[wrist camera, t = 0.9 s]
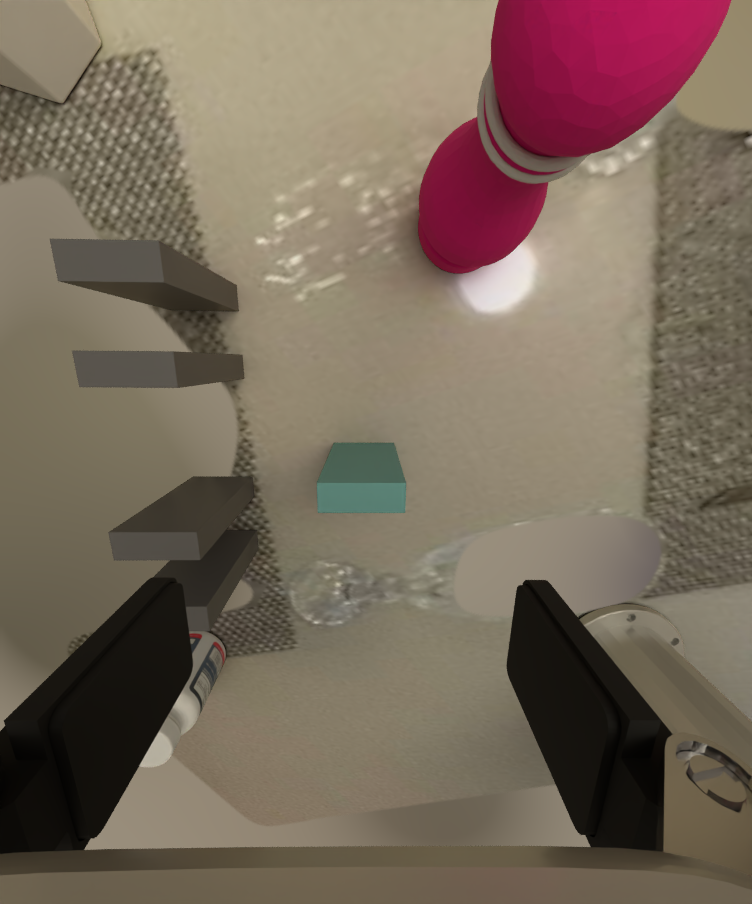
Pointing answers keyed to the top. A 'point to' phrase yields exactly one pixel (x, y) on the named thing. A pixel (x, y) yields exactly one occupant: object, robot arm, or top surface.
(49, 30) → the jar
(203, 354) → the domino
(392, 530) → the top surface
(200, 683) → the pill bottle
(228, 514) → the domino
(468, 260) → the pepper mill
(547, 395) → the top surface
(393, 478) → the domino
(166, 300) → the domino
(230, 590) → the domino
